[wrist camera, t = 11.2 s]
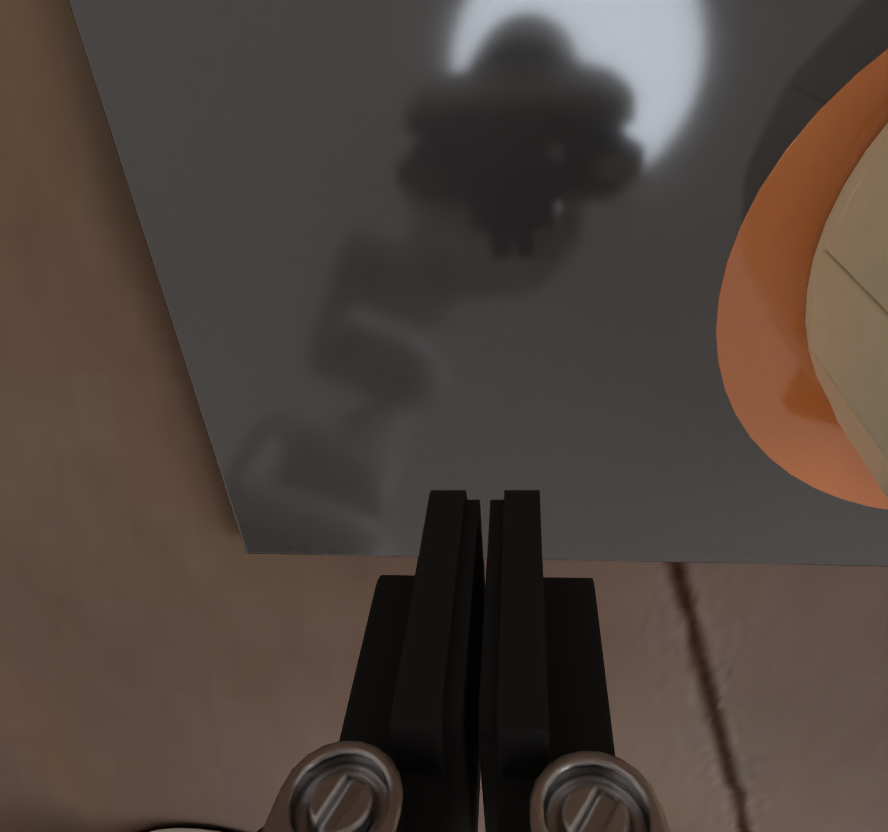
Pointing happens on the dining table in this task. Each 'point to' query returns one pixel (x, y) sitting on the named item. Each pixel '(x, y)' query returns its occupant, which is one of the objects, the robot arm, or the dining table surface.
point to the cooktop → (505, 261)
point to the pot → (855, 309)
